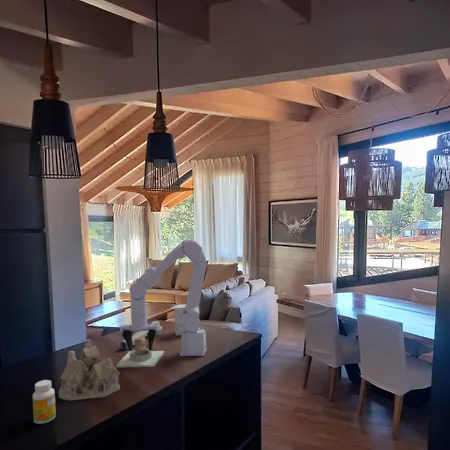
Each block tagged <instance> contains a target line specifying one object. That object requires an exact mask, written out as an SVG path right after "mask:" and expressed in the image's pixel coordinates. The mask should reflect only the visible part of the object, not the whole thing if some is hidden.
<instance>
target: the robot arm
mask: <svg viewBox="0 0 450 450" xmlns="http://www.w3.org/2000/svg"><path fill="white" fill-rule="evenodd" d="M186 257H187V258H188V259H189V261H190V262H191V263H192V264H193V267H192V272H191V278H190V284H189V287H188V288H189V289H188V293H187V297H186V298H187V300H186V306H185V308H184V312H183V313H182V314H181V317H180V321H181V323H182V324H183V327H182V329H181V335H180V336H181V351H180V353H179V356H180V357H188V356H189V357H195V356H197V357H198V356H199V357H202V356H205V353H206V352H207V334H206V330H205V329H201V328H200V327H201V326H200V325H201V321H200V303H201V298H202V297H201V296H202V291H203V285H204V281H205V280H204V279H205V276H206V275H205V274H206V270H207V264H208V263H207V259H206V257H205V253H204V251H203V247H202V246H201V245H200V244H199V243H198V242H197V241H195V240H192V239H184V240H183V241H181V243H179V244H178V245H176V246H175V247H174V248H173V249H172V250H171V251H170V252H168V254H167V255H166V256H165V257H164V258H162V260H161V261H160V262H159V263H158V264H157V265H156V266H152V267H149V268H146V269H145V270H144V271H145V272H144V273H143V274H142V275H141V276H140V277H137V278H136V279H135V281H134V282H132V283H131V284H130V287H129V290H128V291H129V293H130V317H131V318H130V319H131V320H130V321H131V324H123V325H120V327H119V332H120V333H122V334H121V335H122V337H123V340H125V341H126V343H127V345H128V349H127V350H128V352H129V351H133V348H134V345H133V344H132V335H133V333H134V332H139V331H149V332H148V333H147V336H146V337H147V340H148V349H149V351H153V345H154V341H155V338H156V336H155V335H156V332H157V331H158V330H159V325H154V324H151V323H148V316H147V315H148V314H147V301H146V295H147V291H149V290H151V288H153V286H154V285H155V284H157V283H158V282H159V281H160V280H161V279H162V273H163V272H165V270H166V269H168V268H169V267H170V266H171V265H172V264H173V263H175V262H176V261H177V260H181V259H185V258H186Z"/></svg>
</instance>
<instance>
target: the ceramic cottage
mask: <svg viewBox="0 0 450 450" xmlns="http://www.w3.org/2000/svg"><path fill="white" fill-rule="evenodd" d="M85 341H86V342H85V343H84V348H82V349H81V350H82V351H81V353H80V356H79V359H77V358H76V357H77V356H76V353H75V351H74V350H70V351H68V356H67V361H66V367H65V368H64V370H63V372H62V374H61V376H60V377H59V379H61V382H60V387H59V390H58V396H57V397H58V398H59V399H61V400H65V401H76V400H87V399H96V398H105V397H107V396H109V395H112V394H113V393H116V392H117V391H119V390H120V389H121V385H120V384H119V376H120V375H121V373H120V372H119V371H118V369H117V367H116V364H114V362H113V360H112V359H111V357H107V358H106V359H105V358H103V357H101V354H100V352H99V350H98V347H97V346H96V344H94V345H92V342H91V339H86V340H85Z"/></svg>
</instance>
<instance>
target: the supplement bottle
mask: <svg viewBox="0 0 450 450" xmlns="http://www.w3.org/2000/svg"><path fill="white" fill-rule="evenodd" d="M34 390H35V391H34V393H32V411H33V412H32V413H33V423H35V424H39V425H40V424H41V425H42V424H46V423H50V422H51V421H52V420H54V419H55V418H56V416H57V415H56V413H57V412H56V394H55V393H56V392H55V389H54V388H53V387H52V381H51V380H48V379H43V380H40V381H37V382H36V383H35V384H34Z"/></svg>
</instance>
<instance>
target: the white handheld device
mask: <svg viewBox="0 0 450 450" xmlns="http://www.w3.org/2000/svg"><path fill="white" fill-rule="evenodd" d="M150 324H154V325H159V330H158V331H157V332H156V335H155V337H157V336H161V335H162V334H163V326H162V325H161V324H160V321H159V320H155V321H152V322H151V323H150ZM148 332H149V331H136V332H135V333H134V334H132V344H133V346H135V339H136V338H146V337H148V336H147V333H148ZM119 348H120V349H121V350H122V349H123V350H122V351H127V350H129V349H128V345H127V343H126V341H125V339H123V340H122V341H121V342H120V343H119Z"/></svg>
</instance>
